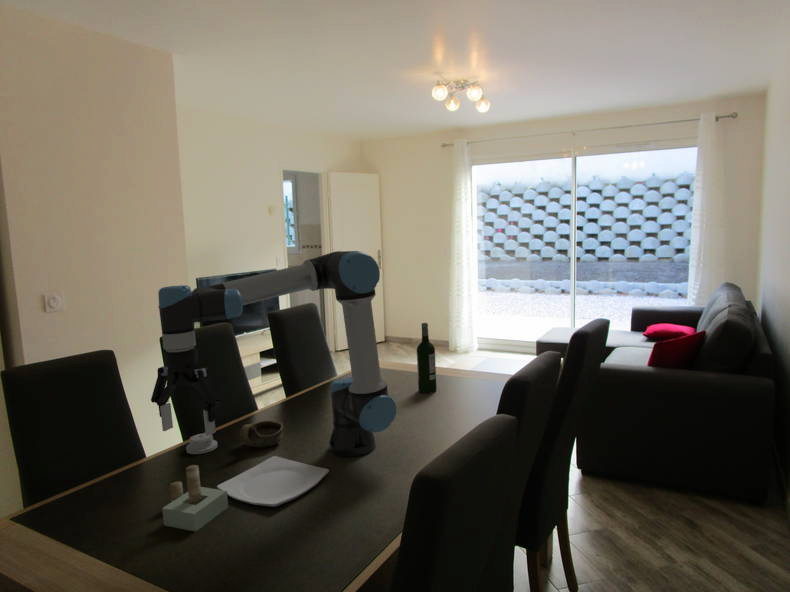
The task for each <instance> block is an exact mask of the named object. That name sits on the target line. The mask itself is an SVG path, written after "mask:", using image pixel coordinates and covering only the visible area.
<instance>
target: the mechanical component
mask: <svg viewBox="0 0 790 592" xmlns="http://www.w3.org/2000/svg"><path fill="white" fill-rule="evenodd" d="M188 440H189V444H187V446H186V447H185V449H186V453H187V454H190V455H201V454H207V453H209V452H212V451H214V450H215V449H217V448H218V441H217V440H215V439H214V437H213V434H211V435H209V436H206V433H205V432H204V433H197V434H196V435H192V436H190V437H189V439H188Z"/></svg>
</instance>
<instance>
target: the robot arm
mask: <svg viewBox="0 0 790 592" xmlns="http://www.w3.org/2000/svg"><path fill="white" fill-rule="evenodd" d="M380 276H381V273H380V268H379V264H378V262H377V261H376V260H375V258H374V257H373V256H371V255H370V254H368V253H366V252H363V251H359V250H358V251H357V250H348V251H346V250H345V251H343V250H341V251H340V250H338V251H333V252H329V253H326V254H324V255H323V254H322V255H319V256H317V257H313V258H310V259H305V260H304V261H303V262H302V264H299V265H294V266H291V267H287V268H282V269H278V270H277V269H276V270H274V271H270V272H269V271H268V272H264V273H261V274H256V275H251V276H248V277H243V278H238V279H234V280H229V281H225V282H221V283H217V284H212V285H208V286H205V285H202V286H198V287H195V288H193V290H192V289H191V287H190V286H189V285H185V284H184V285H181V284H180V285H172V286H165V287H164V286H163V287H161V288H160V289H159V290H158V296H157V297H158V306H157V307H158V310H159V320H160V327H161V336H162V337H161V338H162V347H163V350H165V351H164V353H163V354H164V355H163V356H164V364H165V365H164V366H161V367H158V368H157V378H156V381H155V383H154V388H153V392H152V395H151V398H150V401H151V403H153V404H154V403H156V405H157V407H158V411H159V417H160V418H161V427H162V432H166V431H169V430H171V429H173V428H174V424H173V416H172V415H173V414H172V406H171V402H170V398H171V396H172V395H173V393H174V391H175V390H176V388H177V387H183V388H184V387H185V388H188V389H189V390H191V391H192V392H193V394H194V395H195V396H196V397H197V398H198V400H199V401H200V403H201V404H202V405H203V407H204V409H202V410H203V413H202V414H203V421H204V431H205V432H204V433H206V436H209V435H211V434H212V435H213V434H215V433H216V432H217V431H216V424H215V423H216V422H215V421H216V420H217V411H216V408H217V407H219V406H221V405H222V404H223V402H222V399H221V397H220V395H219V393H218V391H217V389H216V387H215V385H214V384H213V381H212V379H211V377H210V374H209V369H208V367H203V368H199V369H198V367H197V363H198V362H199V360H198V358H199V357H198V349H197V348H196V347H195V346H197V341H196V329H195V323H202V322H209V321H219V320H226V319H227V320H230V319H234V318H239V317H240V316H241V315H242V314H243V310H244V309H243V308H244V307H243V306H246V305H249V304H254V303H258V302H262V301H265V300H269V299H273V298H277V297H282V296H286V295H289V294H293V293H297V292H301V291H306V290H308V289H309V290H310V291H312V292H313V291H318V290H326V289H327V290H328V289H329V290H332V289H333V290H334V293H335V300H336V301H337V302H338V303H339V304H340V305H341V306H342V314H343V321H344V328H345V329H344V330H345V334H346V336H345V337H346V343H347V350H348V359H349V365H350V373H351V377H345V378H340V379H337V380H335V381H333V382H332V383H331V384H330V399H331V410H332V411H331V412H332V422H333V423H332V426H333V427H332V431H331V434H330V439H329V442H328V444H329V445H328V446H329V452H330V453H331V454H332V455H335V456H338V457H349V458H350V457H357V456H363V455H367V454H368V453H370V452H372V451H373V450H375V448H376V445H377V444H376V437H375V435H374V433H381V432H383V431H386V430H387V429H388V428H390V426H391V425H392V423H393V422H394V421H395V418H396V417H397V416H396V415H397V409H398V408H397V404H396V401H395V400H394V399H393V398H392V397H391V396H390V395H389V392H388V384H387V381H386V380H384V379H383V378H382V376H381V375H382V374H381V369H380V368H381V367H380V359H379V353H378V344H377V337H376V336H377V335H376V329H375V322H374V321H375V320H374V314H373V312H374V311H373V306H372V300H373V299H374V298H375V296H376V287H377V286H378V285H377V284H378V283H379V282H380Z"/></svg>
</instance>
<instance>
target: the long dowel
mask: <svg viewBox="0 0 790 592" xmlns="http://www.w3.org/2000/svg"><path fill="white" fill-rule="evenodd" d="M185 474H186V475H185V476H186V483H187V492H188V495H189V504H193V505H197V504H198V503H200V502H201V501H202V497H201V487H202V486H201V480H200V479H201V478H200V468H199V465H198V464H197V465H196V464H192V465H188V466H187V467H185Z"/></svg>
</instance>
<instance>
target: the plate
mask: <svg viewBox="0 0 790 592" xmlns="http://www.w3.org/2000/svg"><path fill="white" fill-rule="evenodd" d="M328 473H330V470H329V469H328V468H324V467H320V466H316V465H315V466H314V465H311V464H308V463H303V462H299V461H296V460H292V459H291V460H290V459H288V458H284V457H280V456H277V455H273V456H271V457H269V458H267V459H265V460H263V461H262V462H260V463H259V464H257V465H254V466H253V467H251V468H249V469H247V470H244V471H243V472H242V473H240V474H237V475H236V476H234V477H232V478H230V479H227V480H226V481H224V482H222V483H219V484H218V485H217V486H216V489H218V490H224V491H227V496H229V497H230V498H232V499H233V500H238V501H240V502H242V503H246V504H250V505H256V506H263V507H272V508H274V507H275V508H276V507H278V506H281V505H283V504H286V503H288V502H291V501H293V500H295V499H297V498H298V497H300V496H301V495H304V494H305V493H306V492H309V491H310V490H311V489H312V488H314V487H315V486H316V485H318V484H319V482H320V481H322V479H323V478H324V477H325V476H326V475H327V474H328Z"/></svg>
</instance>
